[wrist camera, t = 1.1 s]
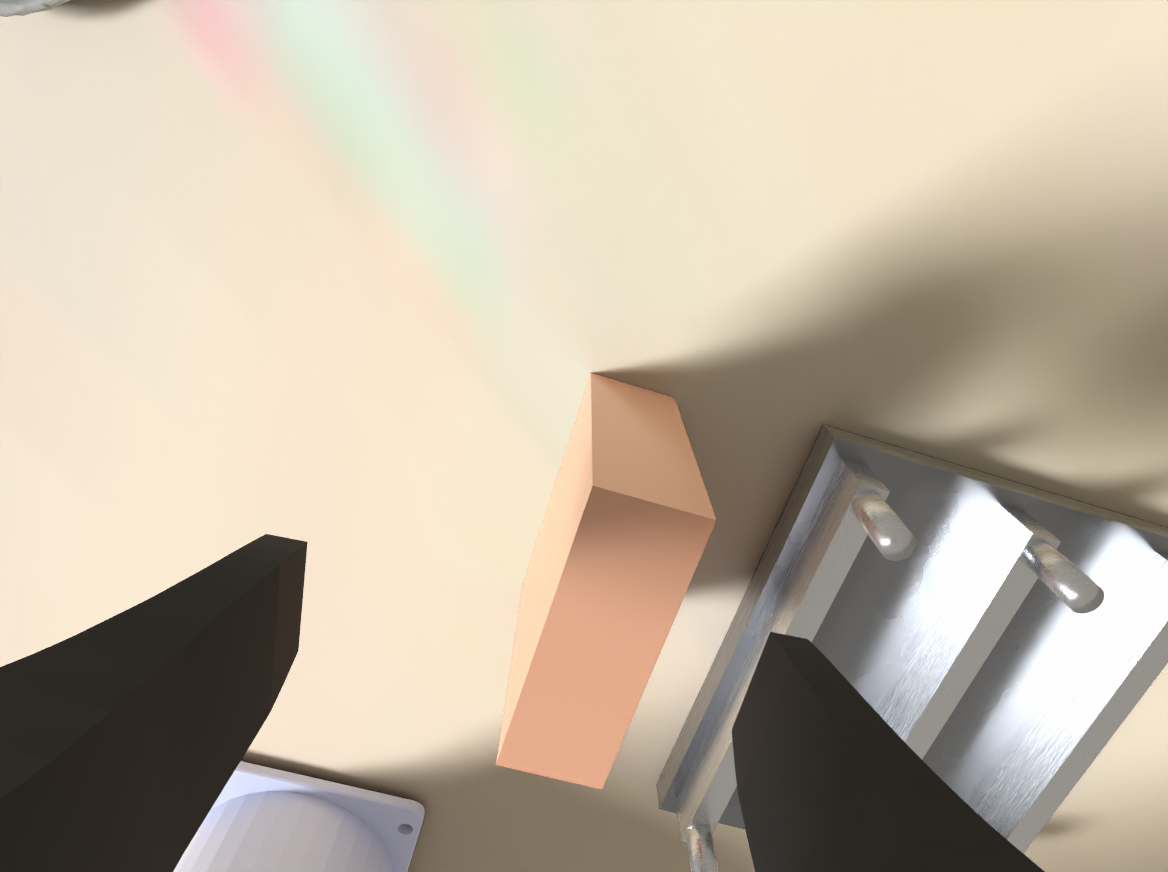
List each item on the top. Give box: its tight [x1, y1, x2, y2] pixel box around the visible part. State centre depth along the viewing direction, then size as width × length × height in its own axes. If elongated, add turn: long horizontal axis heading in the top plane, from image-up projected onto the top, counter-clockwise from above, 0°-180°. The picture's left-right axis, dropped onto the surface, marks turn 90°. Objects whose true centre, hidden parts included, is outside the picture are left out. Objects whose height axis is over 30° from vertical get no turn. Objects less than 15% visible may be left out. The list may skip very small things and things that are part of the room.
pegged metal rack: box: [657, 425, 1168, 872], centre depth 21 cm, size 14×11×4 cm
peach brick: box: [496, 373, 717, 790], centre depth 18 cm, size 7×2×7 cm, turn 163°
